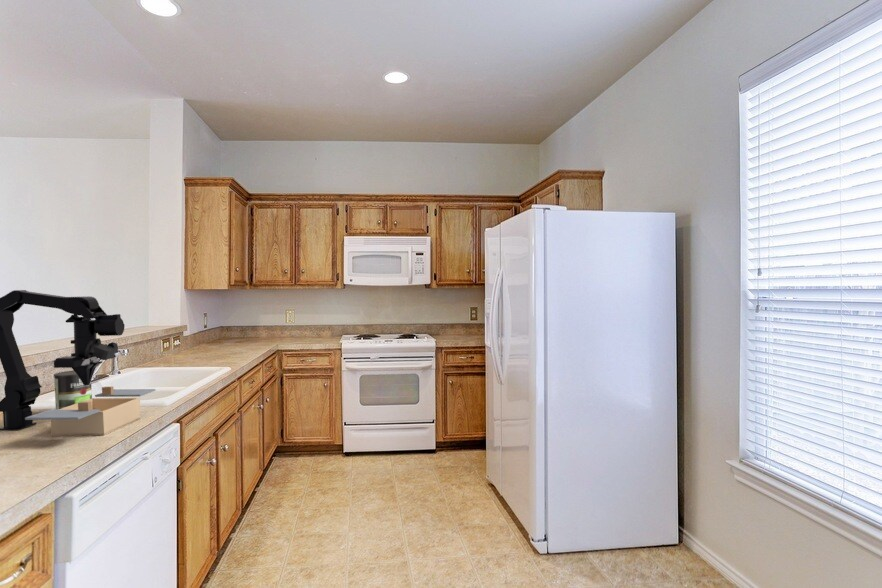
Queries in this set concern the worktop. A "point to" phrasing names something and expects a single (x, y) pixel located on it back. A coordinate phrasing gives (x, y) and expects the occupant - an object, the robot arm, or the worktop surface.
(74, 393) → the coffee can
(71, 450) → the worktop surface
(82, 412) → the lid panel
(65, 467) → the worktop surface
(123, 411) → the carton
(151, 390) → the lid panel
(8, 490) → the worktop surface
